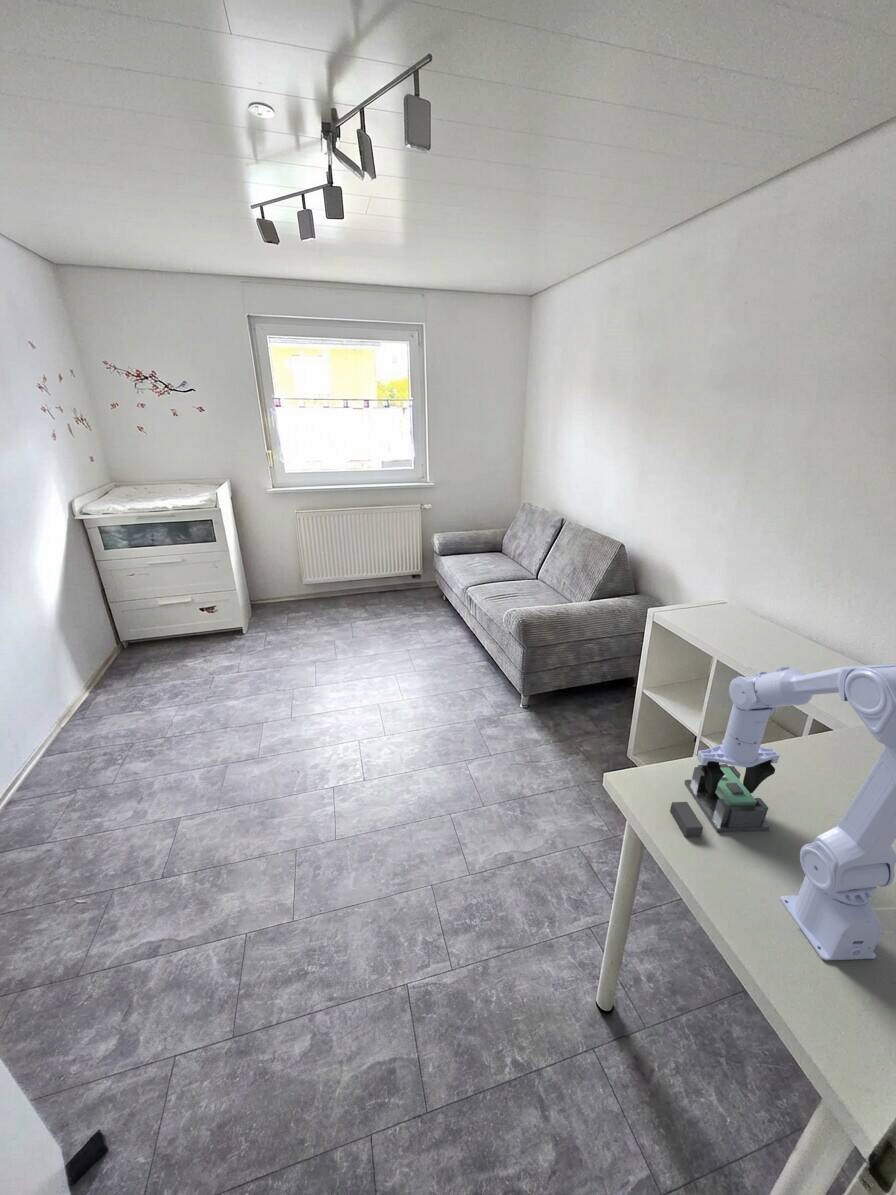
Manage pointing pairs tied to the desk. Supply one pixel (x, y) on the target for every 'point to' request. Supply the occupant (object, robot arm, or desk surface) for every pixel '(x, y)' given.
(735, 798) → the board
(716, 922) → the desk surface
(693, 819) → the dark grey rectangular block
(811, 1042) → the desk surface
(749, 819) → the chassis
